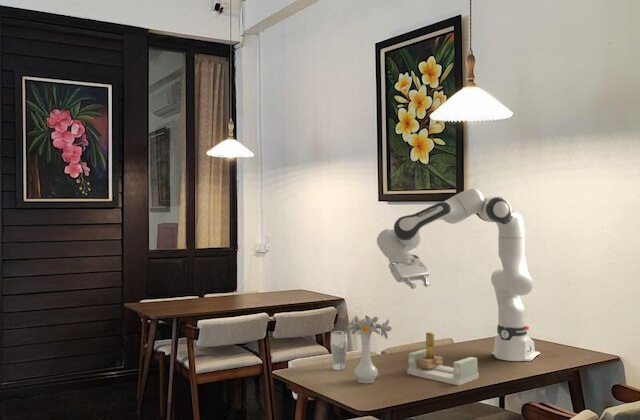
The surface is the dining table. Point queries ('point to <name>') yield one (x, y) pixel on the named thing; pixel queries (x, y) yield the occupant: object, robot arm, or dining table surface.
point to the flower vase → (367, 346)
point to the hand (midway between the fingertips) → (421, 286)
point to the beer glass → (339, 350)
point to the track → (444, 369)
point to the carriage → (430, 354)
